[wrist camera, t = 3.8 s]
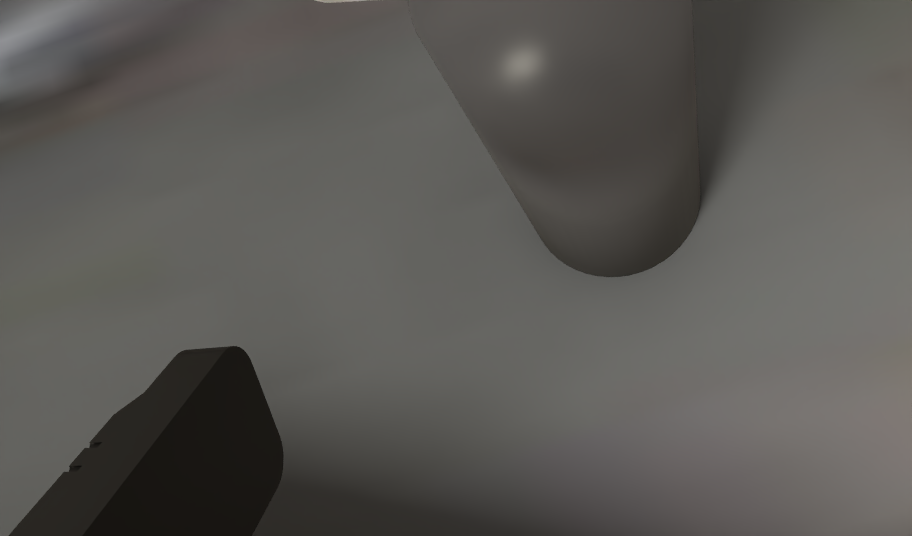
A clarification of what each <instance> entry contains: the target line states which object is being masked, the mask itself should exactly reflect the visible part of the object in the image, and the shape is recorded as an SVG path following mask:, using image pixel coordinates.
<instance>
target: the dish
mask: <svg viewBox="0 0 912 536" xmlns="http://www.w3.org/2000/svg"><path fill="white" fill-rule="evenodd" d="M316 1H321V2H325V3H332V2H349V1H367V0H316Z"/></svg>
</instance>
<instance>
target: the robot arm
mask: <svg viewBox="0 0 912 536" xmlns="http://www.w3.org/2000/svg"><path fill="white" fill-rule="evenodd" d="M69 467H70V470H69V472H64V473H63V474H62V475H61V476H60V477H59V478H58V479H57V481H56V482H55V483H54V484H53V485H52V486H51V488H50V489H49V490H48V491H47V492H46V493H45V494H44V496H43V497H42V498H41V499H40V500H39V501H38V502H37V504H36V505H35V506H34V507H33V508H32V509H31V510H30V512H29V513H28V514H27V515H26V516H25V517H24V519H23V520H22V521H21V522H20V523H19V524H18V525H17V527H16V528H15V529H14V530H13V531H12V532H11V533H10V535H9V536H252V534H253V532H254V530H255V528H256V527H257V525H258V523H259V521H260V519H261V517H262V515H263V514H264V512H265V510H266V508H267V506H268V504H269V502H270V501H271V499H272V497H273V495H274V493H275V491H276V489H277V487H278V485H279V483H280V480H281V476H282V470H283V447H282V442H281V439H280V435H279V433H278V430H277V428H276V425H275V422H274V420H273V417H272V414H271V412H270V409H269V407H268V404H267V401H266V399H265V396H264V393H263V391H262V388H261V386H260V383H259V380H258V378H257V375H256V372H255V370H254V367H253V365H252V362H251V360H250V358H249V356H248V355H247V353H246V352H245V351H244V350H243V349H241V348H240V347H237V346H230V347H217V348H205V349H192V350H184V351H181V352H180V353H178V354H177V355H176V356H175V357H174V358H173V360H172V361H171V362H170V363H169V364H168V365H167V367H166V368H165V369H164V370H163V371H162V372H161V374H160V375H159V376H158V377H157V378H156V380H155V381H154V382H153V383H152V384H151V385H150V387H149V388H148V389H147V390H146V391H145V392H144V393H143V394H142V395H140V396H139V397H138V398H136V399H135V400H133V401H132V402H131V403H129V404H128V405H127V406H125V407H124V408H122V409H121V410H120V411H118V412H117V413H116V414H114V415H113V416H112V417H111V419H110V420H109V421H108V422H107V423H106V424H105V425H104V427H103V428H102V429H101V430H100V431H99V432H98V434H97V435H96V436H95V437H94V438H93V439H92V440H91V442H90V448H84V450H83V451H82V452H81V453H80V454H79V455H78V457H77V458H76V459H75V460H74V461H73V462H72V463H71V465H70V466H69Z"/></svg>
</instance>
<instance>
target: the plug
mask: <svg viewBox="0 0 912 536" xmlns="http://www.w3.org/2000/svg"><path fill="white" fill-rule="evenodd" d="M408 7H409V11H410V16H411V20H412V22H413V25H414V27H415V30H416V33H417V35H418V36H419V38H420V40H421V41H422V43H423V45H424V46H425V48H426V50H427V51H428V53H429V55H430V56H431V58H432V60H433V61H434V63H435V65H436V66H437V68H438V70H439V71H440V73H441V74H442V76H443V78H444V79H445V81H446V83H447V84H448V86H449V88H450V89H451V91H452V93H453V94H454V96H455V98H456V99H457V101H458V102H459V104H460V106H461V107H462V109H463V111H464V112H465V114H466V116H467V117H468V119H469V121H470V122H471V124H472V126H473V127H474V129H475V131H476V132H477V134H478V135H479V137H480V139H481V140H482V142H483V144H484V145H485V147H486V149H487V150H488V152H489V154H490V155H491V157H492V159H493V160H494V162H495V164H496V165H497V167H498V168H499V170H500V172H501V173H502V175H503V177H504V178H505V180H506V182H507V183H508V185H509V187H510V188H511V190H512V192H513V193H514V195H515V197H516V198H517V200H518V201H519V203H520V205H521V206H522V208H523V210H524V211H525V213H526V215H527V216H528V218H529V220H530V221H531V223H532V225H533V226H534V228H535V230H536V231H537V233H538V234H539V236H540V238H541V239H542V241H543V243H544V244H545V245H546V247H547V248H548V249H549V250H550V252H551V253H552V254H554V255H555V256H556V257H557V258H558V259H559V260H561V261H562V262H563V263H565V264H566V265H568V266H570V267H572V268H574V269H576V270H578V271H581V272H584V273H586V274H591V275H595V276H603V277H621V276H627V275H632V274H636V273H639V272H643V271H645V270H647V269H650V268H652V267H654V266H656V265H657V264H659V263H661V262H663V261H664V260H665V259H667V258H668V257H669V256H671V255H672V254H673V253H674V252H675V251H676V250H677V249H678V248H679V247H680V246H681V245H682V243H683V242H684V241H685V239H686V238H687V237H688V235H689V233H690V232H691V230H692V228H693V226H694V223H695V221H696V219H697V215H698V211H699V207H700V198H701V193H700V169H699V146H698V123H697V100H696V77H695V54H694V31H693V9H692V0H408Z"/></svg>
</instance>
